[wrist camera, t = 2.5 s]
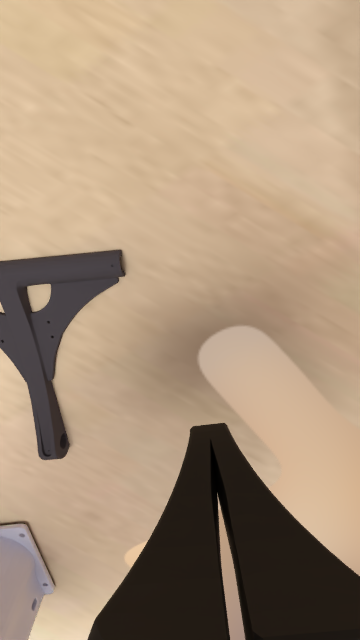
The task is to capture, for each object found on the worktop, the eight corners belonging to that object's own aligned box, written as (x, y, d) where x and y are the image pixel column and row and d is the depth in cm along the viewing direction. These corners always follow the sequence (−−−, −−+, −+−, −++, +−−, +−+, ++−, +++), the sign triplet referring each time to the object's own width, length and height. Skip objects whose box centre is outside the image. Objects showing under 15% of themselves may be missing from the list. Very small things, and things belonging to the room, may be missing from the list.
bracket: (-21, 448, 24) (-45, 476, 22) (-97, 269, 19) (-140, 278, 16) (152, 433, 24) (149, 460, 21) (123, 248, 19) (114, 253, 16)
